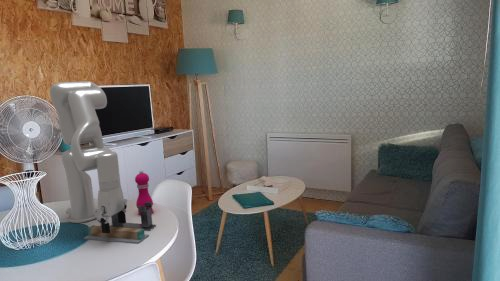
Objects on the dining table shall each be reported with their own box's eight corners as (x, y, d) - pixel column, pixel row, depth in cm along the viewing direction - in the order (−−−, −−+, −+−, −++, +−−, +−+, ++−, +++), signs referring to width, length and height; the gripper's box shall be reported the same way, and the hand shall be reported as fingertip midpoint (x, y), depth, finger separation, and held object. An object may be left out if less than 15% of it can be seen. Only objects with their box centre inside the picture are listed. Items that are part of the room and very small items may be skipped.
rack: (108, 228, 157) (105, 204, 155) (116, 223, 162) (114, 200, 160) (149, 231, 151) (146, 206, 149) (156, 226, 156) (153, 202, 154)
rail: (88, 235, 149) (87, 228, 148) (93, 232, 151) (92, 225, 151) (140, 239, 141) (139, 232, 141) (144, 236, 144) (144, 229, 144)
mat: (84, 239, 147) (83, 237, 147) (96, 232, 153) (96, 230, 153) (138, 243, 139) (138, 242, 139) (148, 236, 146) (148, 234, 146)
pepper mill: (156, 210, 176) (151, 167, 173) (150, 215, 169) (146, 171, 165) (141, 210, 176) (136, 168, 173) (134, 216, 169) (130, 172, 166)
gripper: (115, 177, 153) (120, 218, 156) (85, 191, 136) (90, 236, 139) (132, 178, 150) (136, 220, 153) (103, 192, 134) (108, 238, 137)
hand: (114, 227), depth 146 cm, fingers open, 9 cm apart
